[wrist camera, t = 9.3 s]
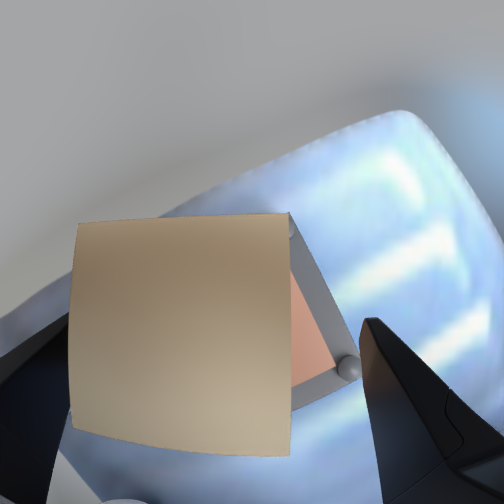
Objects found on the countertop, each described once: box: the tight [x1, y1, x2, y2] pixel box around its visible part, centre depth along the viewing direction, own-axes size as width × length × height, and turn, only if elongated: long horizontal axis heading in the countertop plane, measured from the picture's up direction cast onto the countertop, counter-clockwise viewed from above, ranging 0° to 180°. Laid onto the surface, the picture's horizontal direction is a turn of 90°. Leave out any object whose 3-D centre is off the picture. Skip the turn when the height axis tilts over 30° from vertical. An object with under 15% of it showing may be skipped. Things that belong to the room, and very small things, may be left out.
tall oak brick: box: [68, 213, 291, 457], centre depth 11 cm, size 4×4×12 cm
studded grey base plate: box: [288, 212, 362, 412], centre depth 19 cm, size 12×12×5 cm
